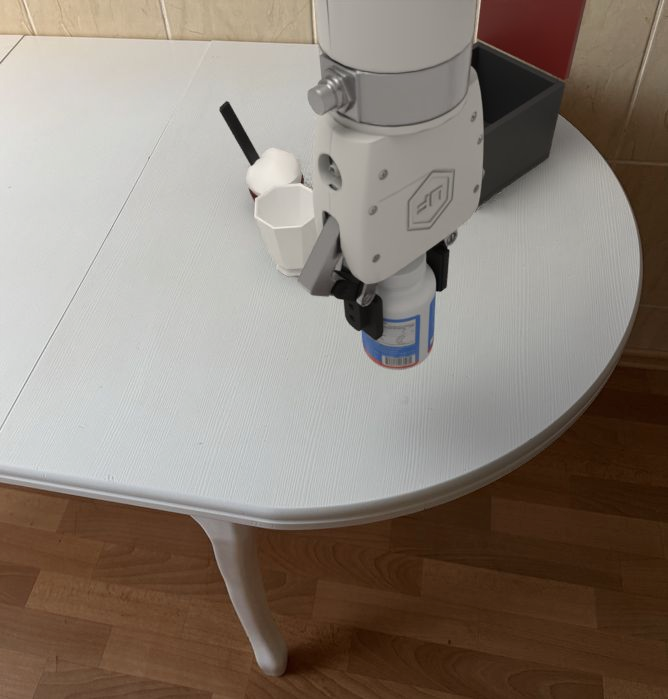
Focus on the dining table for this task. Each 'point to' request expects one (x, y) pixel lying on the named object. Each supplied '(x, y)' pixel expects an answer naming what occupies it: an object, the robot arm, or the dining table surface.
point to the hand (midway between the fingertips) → (396, 301)
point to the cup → (287, 225)
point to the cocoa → (263, 159)
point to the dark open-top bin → (513, 116)
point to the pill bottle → (405, 317)
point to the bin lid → (534, 31)
